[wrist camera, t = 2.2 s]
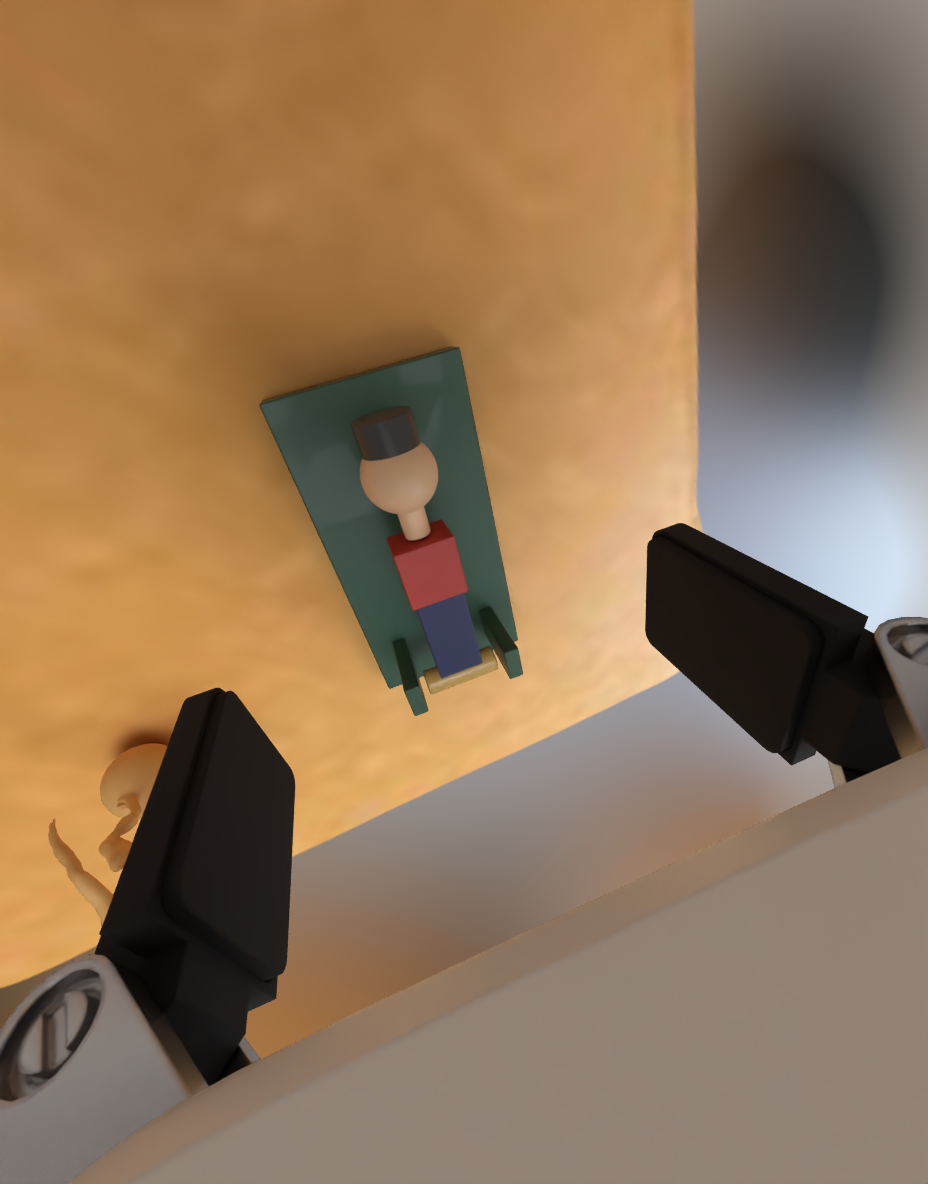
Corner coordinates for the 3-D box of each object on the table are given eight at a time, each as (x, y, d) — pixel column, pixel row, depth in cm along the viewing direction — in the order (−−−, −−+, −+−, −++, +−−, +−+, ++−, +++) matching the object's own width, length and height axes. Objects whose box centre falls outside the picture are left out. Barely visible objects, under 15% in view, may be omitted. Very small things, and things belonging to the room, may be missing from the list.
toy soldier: (328, 422, 18) (331, 438, 15) (421, 395, 18) (439, 405, 15) (424, 673, 26) (436, 711, 23) (486, 649, 26) (506, 684, 23)
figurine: (64, 732, 24) (-112, 1010, 14) (157, 678, 24) (48, 917, 14) (180, 799, 29) (110, 1041, 19) (259, 753, 29) (229, 972, 19)
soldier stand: (261, 400, 19) (244, 421, 14) (453, 346, 20) (493, 349, 15) (386, 677, 29) (400, 742, 24) (511, 630, 30) (547, 684, 25)
